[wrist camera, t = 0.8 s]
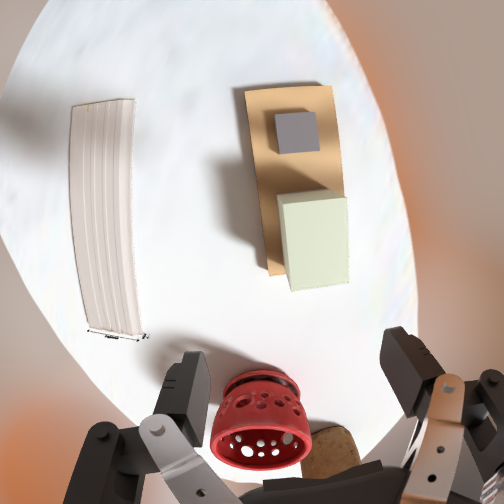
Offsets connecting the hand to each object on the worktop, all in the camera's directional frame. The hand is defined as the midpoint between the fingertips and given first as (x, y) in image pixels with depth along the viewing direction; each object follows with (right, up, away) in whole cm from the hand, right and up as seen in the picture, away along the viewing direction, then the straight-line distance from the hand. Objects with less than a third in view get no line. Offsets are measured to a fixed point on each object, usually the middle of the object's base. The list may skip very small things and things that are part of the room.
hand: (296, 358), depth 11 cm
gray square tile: (+3, +16, +15) cm, 22 cm away
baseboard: (-19, +8, +20) cm, 29 cm away
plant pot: (-1, -17, +29) cm, 33 cm away
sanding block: (+4, +7, +18) cm, 20 cm away
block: (+12, -32, +34) cm, 49 cm away
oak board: (+3, +12, +18) cm, 22 cm away
